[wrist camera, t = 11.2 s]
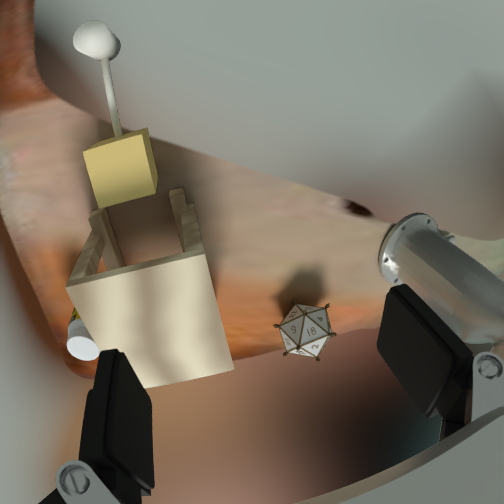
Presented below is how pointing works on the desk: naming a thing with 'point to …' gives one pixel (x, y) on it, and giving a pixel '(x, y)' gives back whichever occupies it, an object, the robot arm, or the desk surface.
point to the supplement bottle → (80, 339)
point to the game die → (305, 330)
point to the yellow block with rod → (115, 133)
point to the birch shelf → (152, 303)
